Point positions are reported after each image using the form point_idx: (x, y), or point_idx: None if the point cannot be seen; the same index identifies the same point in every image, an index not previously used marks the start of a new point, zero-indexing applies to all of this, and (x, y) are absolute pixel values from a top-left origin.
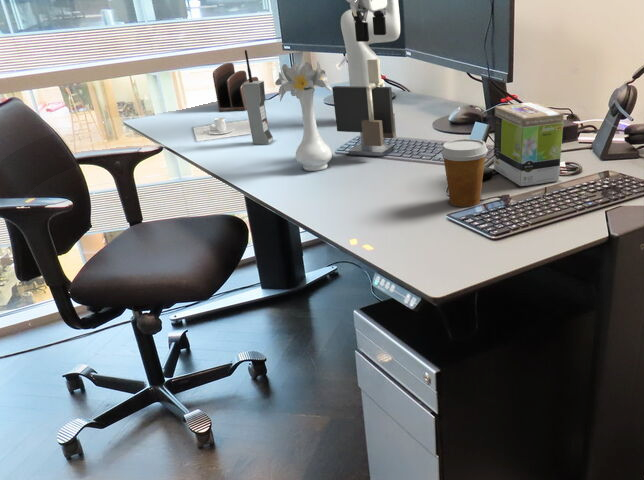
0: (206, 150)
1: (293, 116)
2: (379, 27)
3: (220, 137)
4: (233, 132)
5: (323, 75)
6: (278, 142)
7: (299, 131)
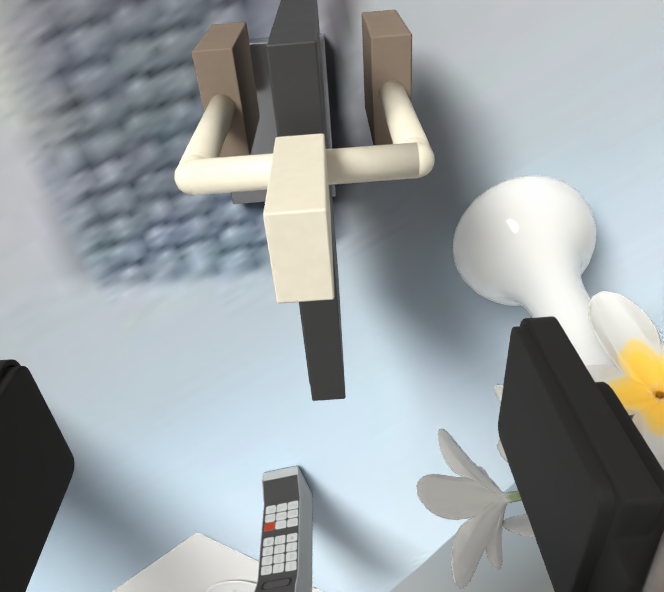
0: (389, 545)
1: None
2: (12, 477)
3: None
4: (227, 576)
5: None
6: (269, 454)
7: (142, 465)
